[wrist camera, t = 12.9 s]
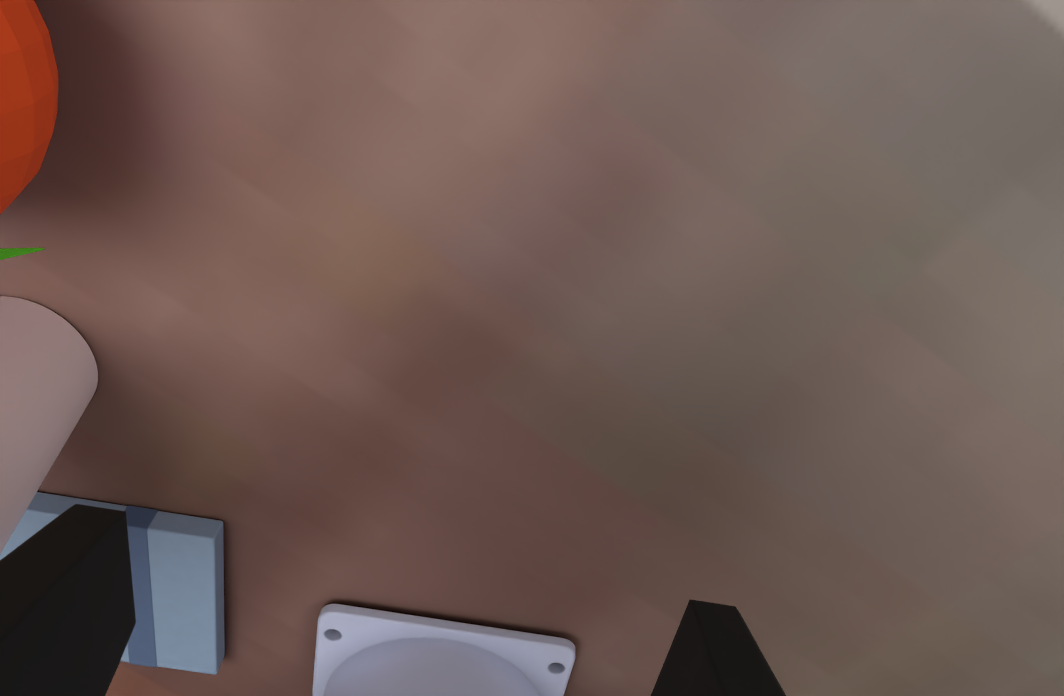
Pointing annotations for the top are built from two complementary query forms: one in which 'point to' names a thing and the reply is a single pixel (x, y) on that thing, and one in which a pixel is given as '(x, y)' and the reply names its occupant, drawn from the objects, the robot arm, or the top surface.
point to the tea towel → (160, 581)
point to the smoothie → (36, 399)
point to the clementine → (24, 100)
